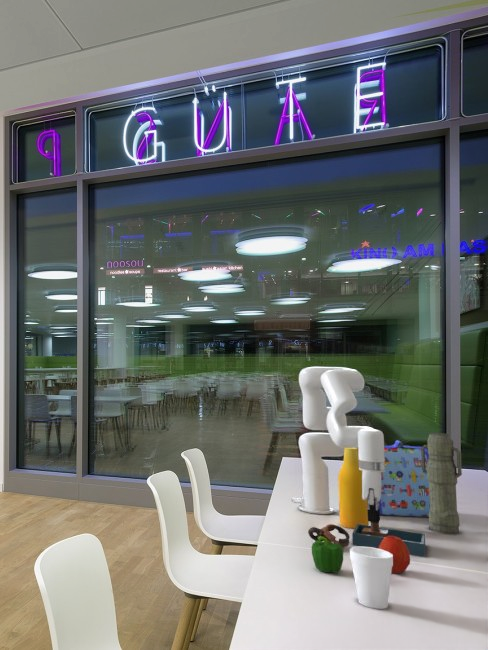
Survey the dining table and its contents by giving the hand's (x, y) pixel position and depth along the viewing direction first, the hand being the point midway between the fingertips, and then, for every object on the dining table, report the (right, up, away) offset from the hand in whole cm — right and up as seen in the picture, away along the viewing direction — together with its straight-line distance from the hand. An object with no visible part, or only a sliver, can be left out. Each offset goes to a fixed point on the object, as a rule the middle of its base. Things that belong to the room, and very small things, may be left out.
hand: (374, 520), depth 203 cm
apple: (-10, -7, -26) cm, 28 cm away
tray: (+4, -8, -2) cm, 9 cm away
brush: (0, -7, -1) cm, 7 cm away
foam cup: (-32, -5, -49) cm, 58 cm away
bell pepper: (-30, -7, -25) cm, 39 cm away
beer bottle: (+6, -9, +21) cm, 24 cm away
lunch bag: (+37, -11, +40) cm, 55 cm away
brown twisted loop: (-17, -8, -3) cm, 19 cm away
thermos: (+36, -9, +16) cm, 40 cm away
